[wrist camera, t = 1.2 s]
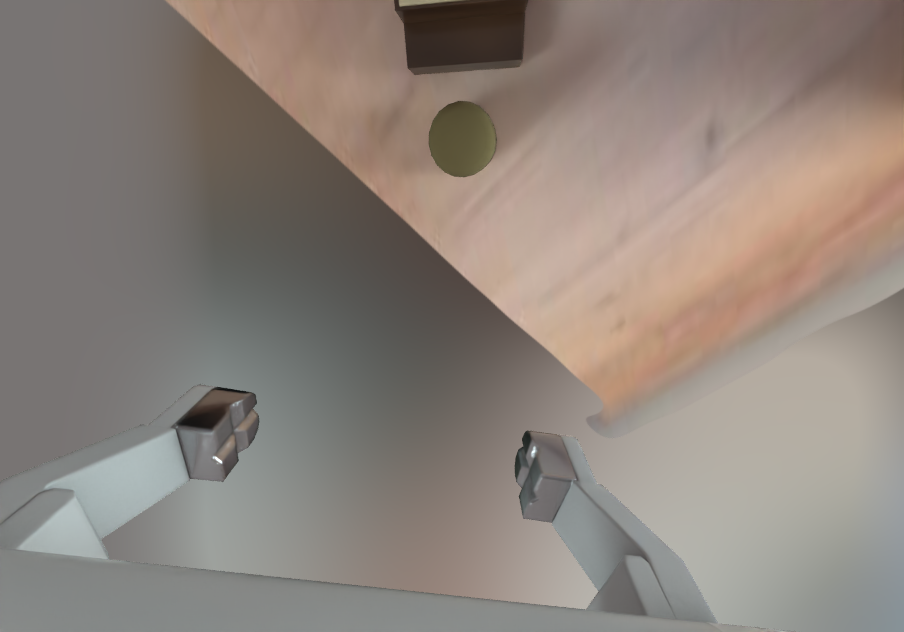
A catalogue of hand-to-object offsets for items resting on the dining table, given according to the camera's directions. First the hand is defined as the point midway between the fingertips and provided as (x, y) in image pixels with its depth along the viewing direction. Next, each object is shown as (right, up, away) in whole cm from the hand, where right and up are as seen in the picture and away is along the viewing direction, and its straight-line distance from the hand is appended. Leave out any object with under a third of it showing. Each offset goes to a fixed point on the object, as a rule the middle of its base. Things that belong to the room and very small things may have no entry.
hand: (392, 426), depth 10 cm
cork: (+3, +21, +24) cm, 32 cm away
